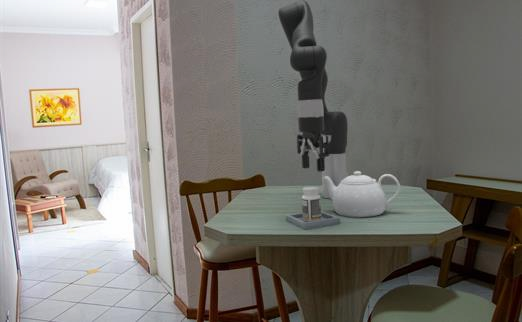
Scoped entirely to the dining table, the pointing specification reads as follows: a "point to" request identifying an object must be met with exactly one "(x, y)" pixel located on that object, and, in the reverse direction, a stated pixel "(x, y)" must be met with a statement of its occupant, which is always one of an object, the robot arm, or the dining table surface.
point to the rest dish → (325, 221)
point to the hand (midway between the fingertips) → (313, 169)
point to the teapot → (359, 195)
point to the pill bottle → (311, 204)
